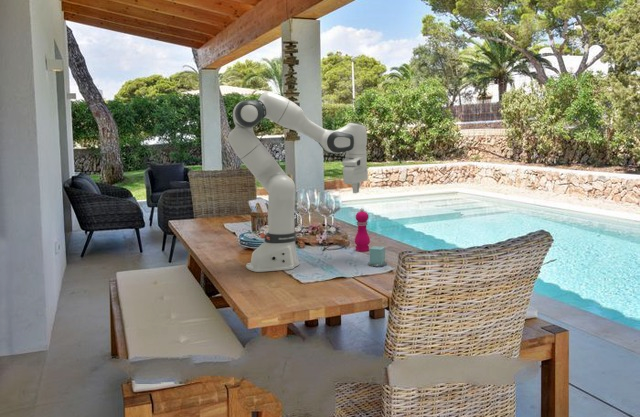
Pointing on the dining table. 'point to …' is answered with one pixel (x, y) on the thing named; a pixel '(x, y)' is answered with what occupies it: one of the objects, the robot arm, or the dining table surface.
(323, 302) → the dining table surface
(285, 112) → the robot arm
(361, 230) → the pepper mill
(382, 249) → the teal rectangular block
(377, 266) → the grey round stand
